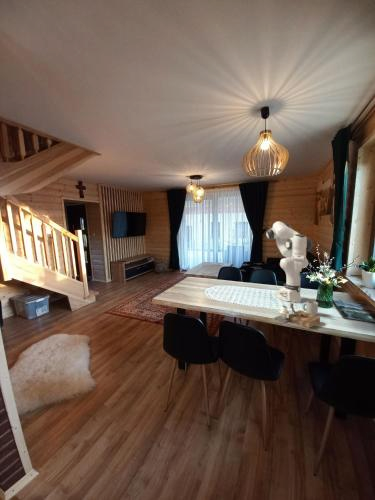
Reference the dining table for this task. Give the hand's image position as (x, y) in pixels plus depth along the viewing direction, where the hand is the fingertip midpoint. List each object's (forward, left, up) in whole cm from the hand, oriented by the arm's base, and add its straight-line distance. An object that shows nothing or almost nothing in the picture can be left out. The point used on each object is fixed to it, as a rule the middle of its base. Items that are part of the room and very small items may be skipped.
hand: (297, 275), depth 147 cm
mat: (-1, -15, -31) cm, 34 cm away
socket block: (+9, -6, -31) cm, 32 cm away
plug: (-1, -14, -30) cm, 33 cm away
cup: (+4, +11, -31) cm, 33 cm away
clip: (+2, -7, -25) cm, 26 cm away
